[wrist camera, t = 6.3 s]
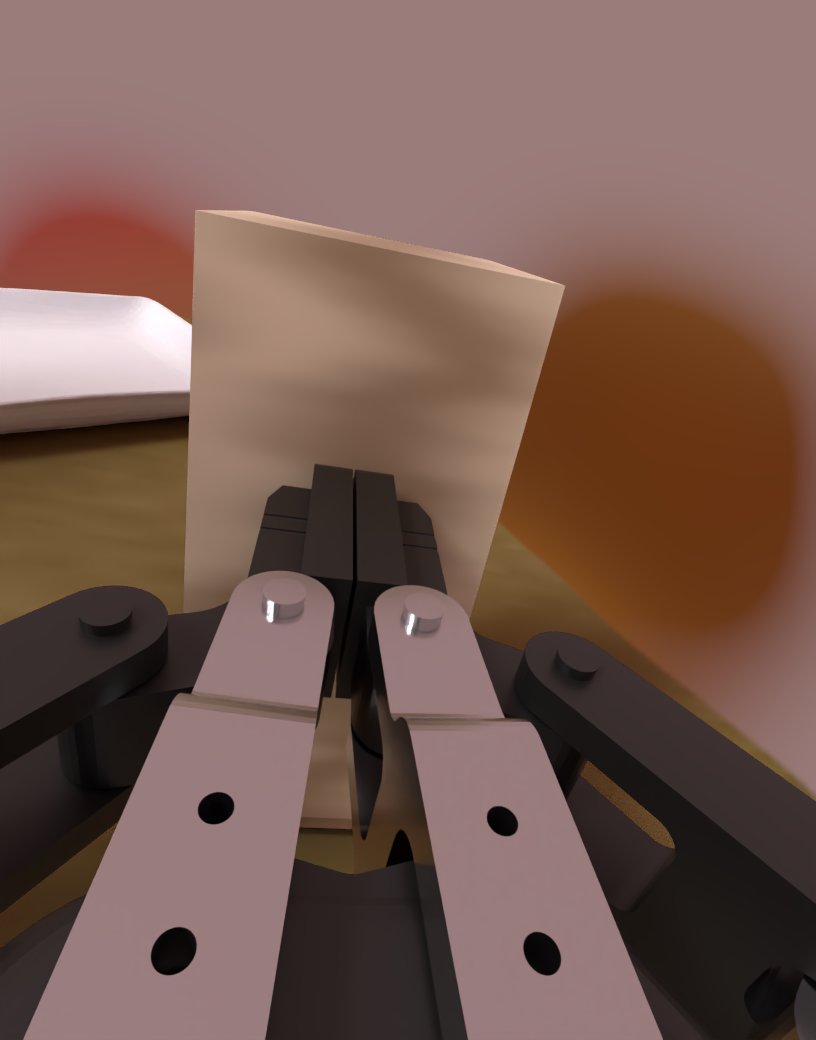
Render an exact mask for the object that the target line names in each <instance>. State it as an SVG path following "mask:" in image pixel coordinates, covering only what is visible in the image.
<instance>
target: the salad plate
mask: <svg viewBox="0 0 816 1040" xmlns="http://www.w3.org/2000/svg"><path fill="white" fill-rule="evenodd" d="M191 343H192V325H190V324H189V323H187V322H186V321H185V320H183V319H182V318H180V317H179V316H177V315H176V314H174V313H173V312H171V311H170V310H168V309H167V308H166V307H164V306H162V305H161V304H159V303H157V302H156V301H153V300H151V299H148V298H145V297H133V296H119V295H104V294H90V293H74V292H60V291H44V290H29V289H28V290H27V289H11V288H0V434H8V433H19V432H30V431H42V430H53V429H64V428H75V427H86V426H95V425H105V424H115V423H125V422H136V421H146V420H156V419H165V418H174V417H184V416H189V409H190V376H191Z"/></svg>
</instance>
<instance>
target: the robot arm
mask: <svg viewBox="0 0 816 1040" xmlns="http://www.w3.org/2000/svg"><path fill="white" fill-rule="evenodd" d="M434 535H435V534H434V530H433V525H432V521H431V518H430V517H429V516H428V515H427V513H426V512H425V511H424V510H423V509H422V508H421V507H420V506H419V504H418V503H412V502H405V501H398V500H397V496H396V488H395V481H394V475H392V474H385V473H378V472H371V471H364V470H357V469H356V470H355V473H354V477H353V469H349V468H342V467H335V466H328V465H321V464H315V465H314V473H313V480H312V488H311V489H307V488H300V487H293V486H285V485H282V486H281V487H280V488H279V489H278V490H276V491H275V492H274V493H273V494H271V495H270V496H269V497H268V499H267V502H266V506H265V510H264V515H263V518H262V522H261V526H260V530H259V534H258V538H257V542H256V546H255V550H254V554H253V558H252V562H251V566H250V570H249V574H248V578H247V579H245V580H243V581H242V582H241V583H239V585H238V586H237V587H236V588H235V590H234V591H233V593H232V595H231V598H230V600H229V601H228V602H226V603H224V604H222V605H220V606H217V607H215V608H212V609H208V610H204V611H198V612H192V613H183V614H175V615H168V612H167V610H166V607H165V605H164V604H163V603H162V601H161V600H160V599H158V598H157V597H156V596H154V595H153V594H151V593H149V592H147V591H144V590H142V589H138V588H134V587H128V586H101V587H95V588H90V589H86V590H82V591H79V592H77V593H74V594H72V595H69V596H67V597H65V598H62V599H60V600H58V601H55V602H53V603H51V604H48V605H46V606H44V607H42V608H39V609H37V610H35V611H32V612H30V613H28V614H25V615H23V616H21V617H18V618H16V619H14V620H11V621H9V622H7V623H5V624H2V625H0V913H1V912H3V911H4V910H5V909H7V908H8V907H9V906H10V905H12V904H13V903H14V902H16V901H17V900H18V899H19V898H21V897H22V896H23V895H24V894H26V893H27V892H28V891H30V890H31V889H32V888H33V887H35V886H36V885H37V884H39V883H40V882H41V881H42V880H44V879H45V878H46V877H47V876H49V875H50V874H51V873H53V872H54V871H55V870H56V869H58V868H59V867H60V866H62V865H63V864H64V863H65V862H67V861H68V860H69V859H70V858H72V857H73V856H74V855H76V854H77V853H78V852H79V851H81V850H82V849H83V848H85V847H86V846H87V845H88V844H90V843H91V842H92V841H94V840H95V839H96V838H97V837H99V836H100V835H101V834H102V833H104V832H105V831H106V830H108V829H109V828H110V827H111V826H113V825H114V824H115V823H117V822H118V821H119V823H118V825H117V827H116V829H115V832H114V834H113V836H112V838H111V841H110V843H109V845H108V848H107V850H106V852H105V854H104V857H103V859H102V861H101V864H100V866H99V868H98V870H97V873H96V875H95V877H94V879H93V882H92V884H91V886H90V889H89V891H88V893H87V894H86V895H84V896H82V897H80V898H77V899H75V900H73V901H71V902H69V903H67V904H66V905H64V906H62V907H61V908H59V909H57V910H55V911H54V912H52V913H50V914H49V915H47V916H45V917H43V918H42V919H40V920H39V921H38V922H36V923H35V924H33V925H32V926H30V927H29V928H28V929H26V930H25V931H23V932H22V933H21V934H19V935H18V936H16V937H15V938H14V939H12V940H11V941H10V942H9V943H7V944H6V945H5V946H4V947H3V948H1V949H0V1040H816V801H814V800H813V799H812V798H810V797H809V796H807V795H806V794H805V793H803V792H802V791H800V790H799V789H798V788H796V787H795V786H793V785H792V784H791V783H789V782H788V781H786V780H785V779H784V778H782V777H781V776H779V775H778V774H776V773H775V772H774V771H772V770H771V769H769V768H768V767H767V766H765V765H764V764H762V763H761V762H760V761H758V760H757V759H755V758H754V757H753V756H751V755H750V754H748V753H747V752H746V751H744V750H743V749H741V748H740V747H739V746H737V745H736V744H734V743H733V742H732V741H730V740H729V739H727V738H726V737H725V736H723V735H722V734H720V733H719V732H718V731H716V730H715V729H713V728H712V727H711V726H709V725H708V724H706V723H705V722H704V721H702V720H701V719H699V718H698V717H697V716H695V715H694V714H692V713H691V712H690V711H688V710H687V709H685V708H684V707H683V706H681V705H680V704H678V703H677V702H676V701H674V700H673V699H671V698H670V697H669V696H667V695H666V694H664V693H663V692H662V691H660V690H659V689H657V688H656V687H654V686H653V685H652V684H650V683H649V682H647V681H646V680H645V679H643V678H642V677H640V676H639V675H638V674H636V673H635V672H633V671H632V670H631V669H629V668H628V667H626V666H625V665H624V664H622V663H621V662H619V661H618V660H617V659H615V658H614V657H612V656H611V655H610V654H608V653H607V652H605V651H604V650H603V649H601V648H600V647H598V646H597V645H595V644H594V643H592V642H590V641H588V640H586V639H584V638H581V637H579V636H576V635H572V634H569V633H563V632H545V633H540V634H538V635H536V636H534V637H533V638H532V639H530V641H529V642H528V643H527V646H526V648H525V651H522V650H519V649H516V648H513V647H510V646H507V645H504V644H501V643H498V642H495V641H493V640H490V639H488V638H485V637H483V636H481V635H479V634H477V633H476V632H474V631H473V629H472V626H471V624H470V621H469V618H468V616H467V614H466V612H465V611H464V609H463V608H462V607H461V606H460V605H459V604H458V603H457V602H456V601H455V600H454V599H452V598H451V597H449V596H448V594H447V590H446V585H445V580H444V576H443V571H442V567H441V562H440V557H439V553H438V552H437V544H436V539H435V538H434ZM335 674H336V692H335V698H343V699H351V718H350V723H349V727H348V732H347V737H346V752H347V765H348V778H349V791H350V804H351V817H352V829H353V842H354V874H345V873H341V872H337V871H334V870H331V869H327V868H324V867H321V866H318V865H314V864H311V863H308V862H304V861H301V860H298V859H295V858H294V857H295V851H296V844H297V838H298V832H299V826H300V819H301V813H302V807H303V801H304V794H305V788H306V782H307V776H308V770H309V763H310V757H311V751H312V745H313V738H314V732H315V729H316V728H317V726H318V723H319V719H320V713H321V708H322V702H323V697H327V698H331V696H332V690H333V685H334V680H335ZM588 760H589V761H590V762H591V763H592V764H593V765H594V766H596V767H597V768H598V769H599V770H600V771H602V772H603V773H604V774H605V775H606V776H607V777H609V778H610V779H611V780H612V781H613V782H614V783H616V784H617V785H618V786H619V787H620V788H622V789H623V790H624V791H625V792H626V793H627V794H629V795H630V796H631V797H632V798H633V799H634V800H636V801H637V802H638V803H639V804H640V805H642V806H643V807H644V808H645V809H646V810H647V811H649V812H650V813H651V814H652V815H653V816H654V817H656V818H657V819H658V820H659V821H660V822H661V823H662V824H663V825H664V826H665V828H666V829H667V830H668V832H669V833H670V835H671V837H672V839H673V842H674V844H675V849H673V848H668V847H665V846H663V845H661V844H659V843H658V842H656V841H655V840H654V839H652V838H651V837H650V836H649V835H648V834H647V833H645V832H644V831H643V830H642V829H641V828H640V827H639V826H637V825H636V824H635V823H634V822H633V821H632V820H631V819H629V818H628V817H627V816H626V815H625V814H624V813H623V812H621V811H620V810H619V809H618V808H617V807H616V806H615V805H613V804H612V803H611V802H610V801H609V800H608V799H607V798H605V797H604V796H603V795H602V794H601V793H600V792H599V791H598V790H596V789H595V788H594V787H593V786H592V785H591V784H590V783H588V782H587V781H586V780H585V779H584V778H583V777H582V776H580V774H581V772H582V770H583V768H584V766H585V765H586V763H587V761H588Z"/></svg>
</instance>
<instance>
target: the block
mask: <svg viewBox="0 0 816 1040" xmlns="http://www.w3.org/2000/svg"><path fill="white" fill-rule="evenodd" d="M194 244H195V245H194V277H193V312H192V343H191V376H190V409H189V442H188V475H187V508H186V541H185V574H184V607H183V613H192V612H198V611H204V610H208V609H212V608H215V607H217V606H220V605H222V604H224V603H226V602H228V601H229V600H230V598H231V595H232V593H233V591H234V590H235V588H236V587H237V586H238V585H239V583H241V582H242V581H243V580H245V579H247V578H248V574H249V570H250V566H251V562H252V558H253V554H254V550H255V546H256V542H257V538H258V534H259V530H260V526H261V522H262V518H263V515H264V510H265V506H266V502H267V499H268V497H269V496H270V495H271V494H273V493H274V492H275V491H276V490H278V489H279V488H280V487H281V486H282V485H285V486H293V487H300V488H307V489H311V488H312V480H313V473H314V465H315V464H321V465H328V466H335V467H342V468H349V469H353V477H354V473H355V470H356V469H357V470H364V471H371V472H378V473H385V474H392V475H394V481H395V488H396V496H397V500H398V501H405V502H412V503H418V504H419V506H420V507H421V508H422V509H423V510H424V511H425V512H426V513H427V515H428V516H429V517H430V518H431V521H432V525H433V530H434V534H435V535H434V538H435V539H436V544H437V552H438V553H439V557H440V562H441V567H442V571H443V576H444V580H445V585H446V590H447V594H448V596H449V597H451V598H452V599H454V600H455V601H456V602H457V603H458V604H459V605H460V606H461V607H462V608H463V609H464V611H465V612H466V614H467V616H468V618H469V620H470V616H471V613H472V609H473V606H474V603H475V599H476V596H477V592H478V589H479V585H480V582H481V578H482V575H483V571H484V568H485V564H486V561H487V557H488V554H489V550H490V547H491V543H492V540H493V536H494V533H495V529H496V526H497V522H498V519H499V515H500V512H501V508H502V505H503V501H504V498H505V494H506V491H507V487H508V484H509V480H510V476H511V473H512V470H513V466H514V462H515V459H516V456H517V452H518V449H519V445H520V442H521V438H522V435H523V431H524V428H525V424H526V421H527V417H528V414H529V410H530V407H531V403H532V400H533V396H534V393H535V389H536V386H537V382H538V379H539V375H540V372H541V368H542V365H543V361H544V358H545V354H546V351H547V347H548V344H549V340H550V336H551V333H552V330H553V326H554V323H555V319H556V316H557V312H558V309H559V305H560V302H561V298H562V295H563V291H564V288H565V285H562V284H558V283H556V282H553V281H550V280H547V279H544V278H541V277H538V276H534V275H532V274H529V273H525V272H523V271H519V270H517V269H514V268H510V267H508V266H505V265H502V264H498V263H496V262H492V261H489V260H485V259H480V258H475V257H471V256H465V255H461V254H456V253H451V252H446V251H441V250H437V249H432V248H427V247H422V246H417V245H413V244H408V243H403V242H398V241H393V240H389V239H384V238H379V237H374V236H369V235H364V234H359V233H355V232H350V231H345V230H340V229H335V228H331V227H326V226H320V225H316V224H311V223H307V222H302V221H297V220H292V219H287V218H282V217H277V216H273V215H268V214H263V213H258V212H253V211H220V210H219V211H218V210H213V211H212V210H196V213H195V243H194ZM335 692H336V674H335V680H334V685H333V690H332V696H331V698H327V697H323V702H322V708H321V713H320V719H319V723H318V726H317V728H316V729H315V732H314V738H313V745H312V751H311V757H310V763H309V770H308V776H307V782H306V788H305V794H304V801H303V807H302V813H301V819H300V826H299V827H307V828H333V829H352V817H351V804H350V791H349V778H348V765H347V752H346V737H347V732H348V727H349V723H350V718H351V699H343V698H335Z"/></svg>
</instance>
